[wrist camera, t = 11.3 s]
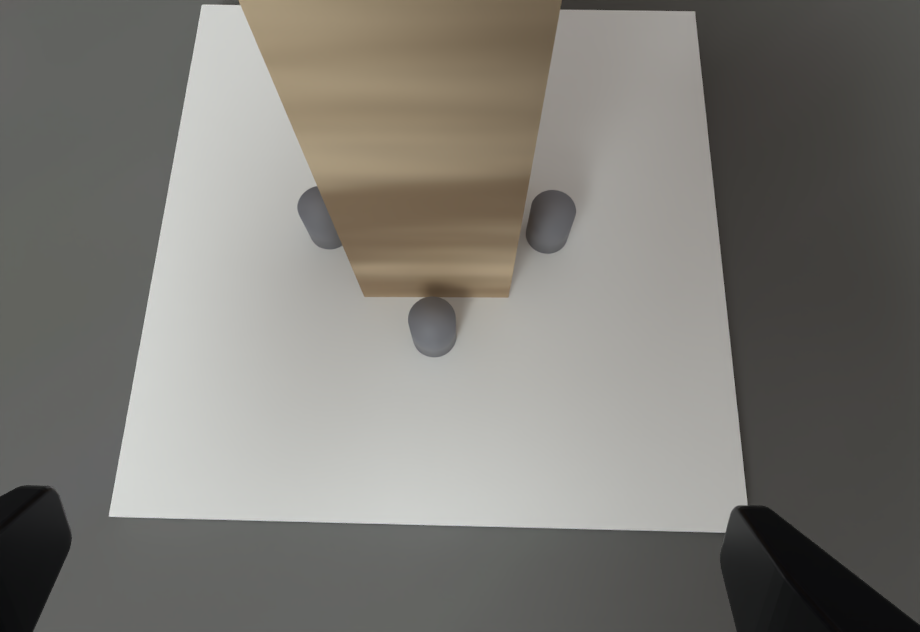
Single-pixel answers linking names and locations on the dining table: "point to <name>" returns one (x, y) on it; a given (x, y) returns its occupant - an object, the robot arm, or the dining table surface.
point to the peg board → (445, 320)
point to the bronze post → (415, 129)
